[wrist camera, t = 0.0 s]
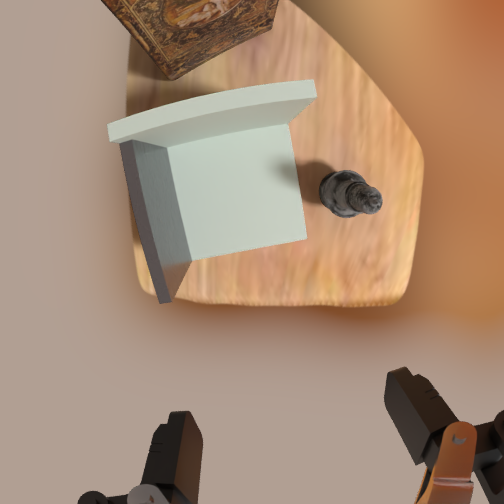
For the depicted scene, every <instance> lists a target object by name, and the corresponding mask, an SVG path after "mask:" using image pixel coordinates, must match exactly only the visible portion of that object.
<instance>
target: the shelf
mask: <svg viewBox="0 0 504 504" xmlns="http://www.w3.org/2000/svg"><path fill="white" fill-rule="evenodd" d="M316 98H317V94H316V89H315V85H314V81H313V79H311V80H299V81H289V82H280V83H271V84H264V85H257V86H250V87H244V88H238V89H233V90H227V91H222V92H217V93H212V94H208V95H203V96H199V97H195V98H190V99H186V100H182V101H178V102H175V103H171V104H167V105H164V106H160V107H157V108H153V109H150V110H147V111H144V112H140V113H137V114H134V115H131V116H128V117H125V118H123V119H120V120H117V121H114V122H111V123H109V124H107V129H108V135H109V141H110V142H114V143H119V144H120V150H121V155H122V160H123V166H124V171H125V176H126V181H127V185H128V190H129V195H130V199H131V203H132V208H133V212H134V216H135V220H136V224H137V228H138V232H139V236H140V239H141V243H142V247H143V250H144V254H145V258H146V261H147V265H148V268H149V271H150V275H151V278H152V281H153V284H154V288H155V291H156V294H157V297H158V300H159V303H160V304H162V303H168V302H172V301H173V299H174V297H175V295H176V293H177V290H178V288H179V286H180V284H181V282H182V280H183V278H184V276H185V274H186V272H187V270H188V268H189V266H190V264H191V262H192V261H193V260H198V259H204V258H209V257H214V256H219V255H225V254H230V253H235V252H240V251H246V250H251V249H256V248H261V247H267V246H272V245H277V244H282V243H288V242H293V241H298V240H304V239H307V233H306V226H305V219H304V213H303V206H302V200H301V194H300V187H299V181H298V176H297V170H296V164H295V158H294V153H293V148H292V142H291V137H290V132H289V127H288V123H289V122H290V121H292V120H293V119H294V118H295V117H296V116H297V115H298V114H299V113H300V112H301V111H303V110H304V109H305V108H306V107H307V106H308V105H309V104H310V103H312V102H313V101H314V100H315V99H316Z"/></svg>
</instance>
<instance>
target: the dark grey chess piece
mask: <svg viewBox="0 0 504 504" xmlns="http://www.w3.org/2000/svg"><path fill="white" fill-rule="evenodd" d="M319 195H320V199H321V201H322V203H323V204H324V205H325V206H326V207H327V208H329V209H330V210H331V211H332V213H334V214H335V215H337V216H339V217H343V218H350V217H354V216H356V215H358V214H361V213H366V214H374V213H376V212H378V211H379V210H380V208H381V206H382V196H381V193H380V192H379V191H378V190H377V189H376V188H374V187H370V186H369V185H368V184H366V182H365V180H364V179H363V177H362V176H361V175H359V174H358V173H356V172H354V171H351V170H343V171H339V172H334V173H330V174H329V175H327V176H326V177H325V178H324V179H323V180H322V182H321V184H320V188H319Z"/></svg>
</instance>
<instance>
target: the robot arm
mask: <svg viewBox="0 0 504 504" xmlns="http://www.w3.org/2000/svg"><path fill="white" fill-rule="evenodd" d="M384 402H385V406H386V409H387V411H388V413H389V415H390V417H391V419H392V420H393V422H394V424H395V426H396V428H397V429H398V432H399V434H400V436H401V437H402V439H403V441H404V443H405V445H406V447H407V449H408V451H409V453H410V455H411V457H412V459H413V461H414V463H415V465H418V464H420V463H423V462H425V464H426V466H427V468H426V470H425V473H424V477H423V480H422V483H421V486H420V489H419V491H418V494H417V497H416V500H415V502H414V504H470V501H471V497H472V493H473V488H474V487H473V486H474V483H473V482H471V473H472V472H473V471H474V472H475V474H476V476H477V478H478V480H479V482H480V484H481V486H482V488H483V490H484V493H485V495H486V497H487V498H488V501H489V503H490V504H504V410H503V411H501V412H500V413H499V414H497V416H496V418H495V419H494V421H492V422H488V423H484V424H480V425H476V426H473V425H472V424H470V423H468V422H464V421H459V420H458V419H457V417H456V416H455V415H454V413H453V412H452V411H451V409H450V408H449V407H448V405H447V404H446V403H445V401H444V400H443V398H442V397H441V396H439V393H438V392H437V390H436V389H434V387H433V385H432V384H431V383H430V381H429V380H428V379H426V378H425V377H423V376H421V375H419V374H417V375H415V376H413V375H412V374H411V372H410V371H409V370H408V368H407V367H402V368H399V369H396V370H393V371H390V372H388V374H387V380H386V387H385V395H384ZM202 450H203V438H202V434H201V432H200V430H199V428H198V426H197V424H196V422H195V420H194V418H193V416H192V414H191V412H190V411H178V412H177V411H176V412H171V413H170V415H169V419H168V423H167V424H160V426H159V427H158V428H157V430H156V431H155V432H154V434H153V438H152V442H151V446H150V449H149V453H148V457H147V461H146V465H145V469H144V473H143V477H142V481H141V483H140V485H139V486H136V487H134V488H133V489H132V490H131V491H130V492H129V494H126V495H121V496H114V497H106V496H104V495H103V494H102V493H100V492H97V491H89V492H86V493H85V494H83V495H82V496H81V497H80V499H79V500H78V504H198V493H199V482H200V481H199V480H200V471H201V460H202Z"/></svg>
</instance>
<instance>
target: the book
mask: <svg viewBox="0 0 504 504" xmlns="http://www.w3.org/2000/svg"><path fill="white" fill-rule="evenodd" d="M101 1H102V2H103V3H104V4H105V5H106V6H107V8H108V9H109V10H110V11H111V12H112V13H113V14H114V16H115V17H116V18H118V20H119V21H120V22H121V23H122V25H123V26H124V27H125V28H126V29H127V30H128V31H129V33H130V34H131V35H132V36H133V37H134V38H135V40H136V41H137V42H138V43H139V44H140V45H141V47H142V48H143V49H144V50H145V51H146V52H147V54H148V55H149V56H150V57H151V58H152V60H153V61H154V62H155V63H156V64H157V66H158V67H159V68H160V69H161V70H162V72H163V73H164V74H165V75H166V76H167V78H168V79H170V80H176V79H178V78H179V77H181V76H183V75H184V74H186V73H188V72H189V71H191V70H193V69H195V68H196V67H198V66H200V65H201V64H203V63H205V62H207V61H208V60H210V59H212V58H214V57H216V56H218V55H219V54H221V53H223V52H225V51H227V50H229V49H231V48H233V47H235V46H237V45H239V44H241V43H243V42H245V41H247V40H249V39H251V38H253V37H255V36H258V35H260V34H262V33H264V32H267V31H269V30H271V29H272V26H273V22H274V17H275V13H276V9H277V5H278V1H279V0H101Z"/></svg>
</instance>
